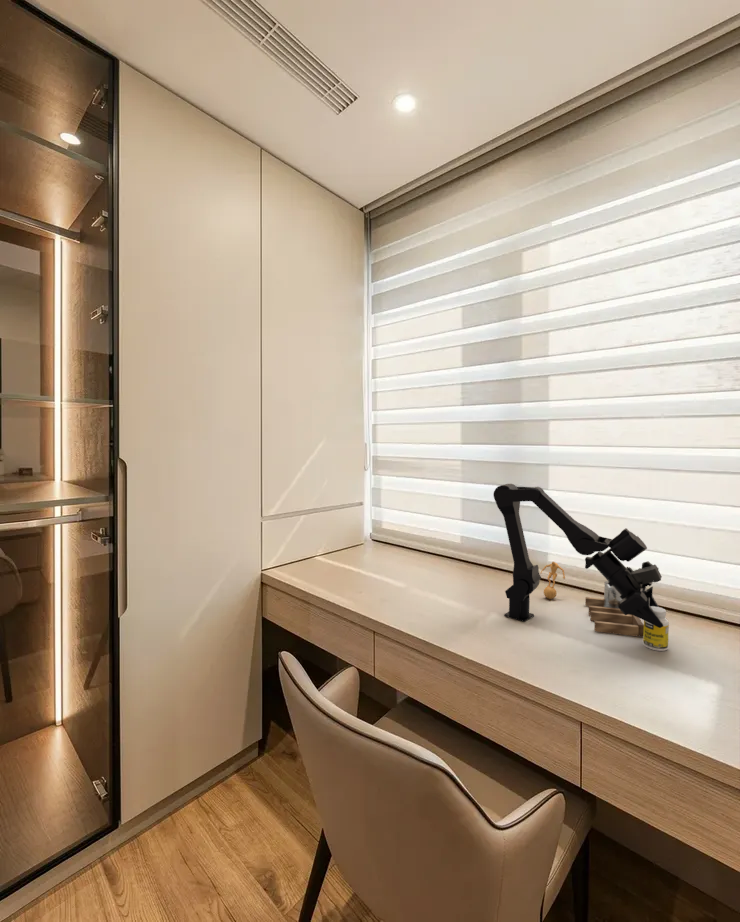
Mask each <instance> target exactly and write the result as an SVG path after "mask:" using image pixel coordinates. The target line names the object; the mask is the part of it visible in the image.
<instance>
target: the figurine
mask: <svg viewBox="0 0 740 922" xmlns="http://www.w3.org/2000/svg"><path fill="white" fill-rule="evenodd" d="M549 567H550V571H549V573H548V575H547V581H548V582H549V583H548V585H547V586H546V587H545V588H544V589H543V596H544V597H545V598H546V599H548V600H553V599H555V598H556V597H557V589H555V588H554V587H555V584H556V579H557V577H558V573H557V571H558V569H559V570H561V571H562V579H563V580H565V579H566V575H565V569H564V568H562V567H561V566H560V565H559V563H557V562H555V561H552V562H551V563H549V564H546V565H545V566H544V567H543V568H542V569H541V571H540V572H539V574H540V575H541V574H542V573H543V571H544V570H546V568H549ZM551 579H552V580H551ZM551 581H552V582H553V583H552V586H551Z"/></svg>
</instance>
